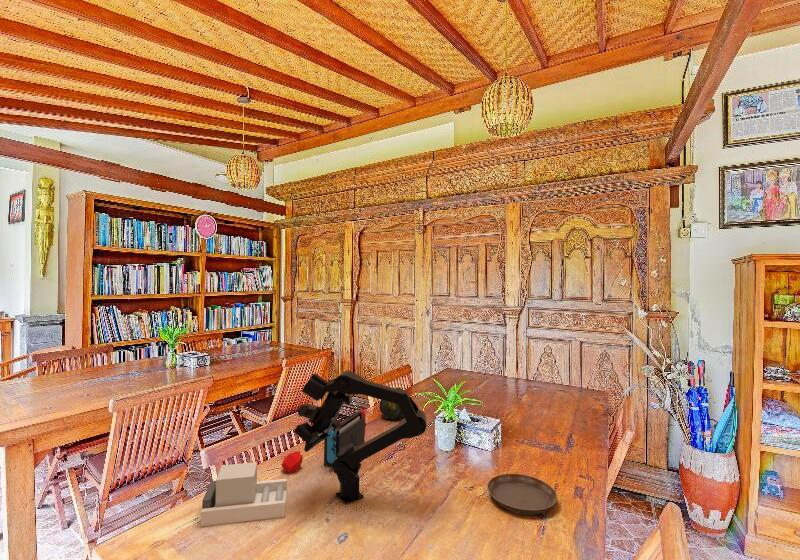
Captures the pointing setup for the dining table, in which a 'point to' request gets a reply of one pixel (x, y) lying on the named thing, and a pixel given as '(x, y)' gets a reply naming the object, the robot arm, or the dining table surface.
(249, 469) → the beige block
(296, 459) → the apple
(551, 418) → the dining table surface
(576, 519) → the dining table surface
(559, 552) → the dining table surface
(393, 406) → the squash
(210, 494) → the rubber stop
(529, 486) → the plant saucer
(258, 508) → the roller bed
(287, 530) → the dining table surface
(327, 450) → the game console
